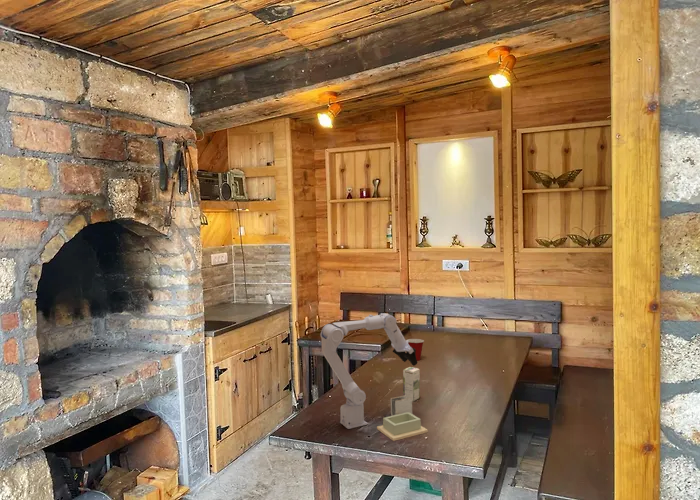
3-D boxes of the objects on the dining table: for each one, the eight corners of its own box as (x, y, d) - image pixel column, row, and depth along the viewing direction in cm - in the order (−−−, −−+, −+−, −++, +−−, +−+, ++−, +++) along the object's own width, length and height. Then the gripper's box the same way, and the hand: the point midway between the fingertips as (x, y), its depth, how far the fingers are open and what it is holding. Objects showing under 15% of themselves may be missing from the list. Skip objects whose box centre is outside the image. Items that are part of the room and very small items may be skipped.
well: (393, 441, 202) (393, 428, 201) (376, 429, 213) (376, 417, 213) (427, 432, 209) (427, 420, 208) (409, 421, 220) (409, 409, 220)
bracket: (396, 419, 222) (396, 401, 222) (391, 416, 226) (390, 398, 226) (412, 416, 226) (411, 398, 225) (406, 412, 230) (406, 394, 229)
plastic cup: (427, 358, 314) (426, 338, 313) (421, 362, 304) (420, 342, 303) (410, 356, 319) (409, 336, 318) (403, 361, 309) (403, 341, 308)
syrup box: (409, 396, 250) (409, 366, 249) (420, 398, 247) (419, 368, 245) (403, 399, 246) (402, 369, 245) (413, 402, 242) (413, 371, 241)
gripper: (412, 335, 220) (426, 360, 224) (394, 329, 233) (408, 353, 237) (400, 345, 218) (414, 370, 221) (383, 339, 231) (396, 363, 234)
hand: (410, 362), depth 229 cm, fingers open, 7 cm apart
